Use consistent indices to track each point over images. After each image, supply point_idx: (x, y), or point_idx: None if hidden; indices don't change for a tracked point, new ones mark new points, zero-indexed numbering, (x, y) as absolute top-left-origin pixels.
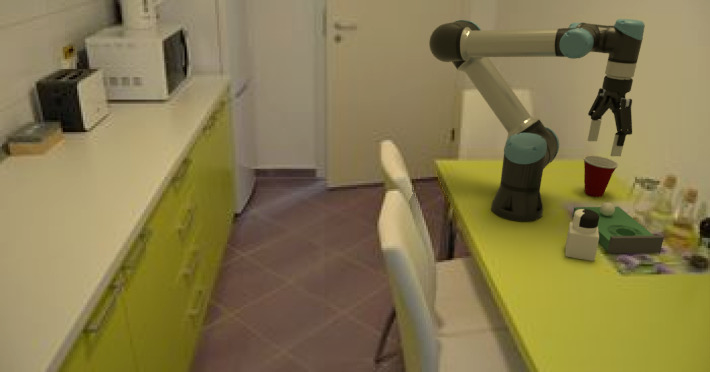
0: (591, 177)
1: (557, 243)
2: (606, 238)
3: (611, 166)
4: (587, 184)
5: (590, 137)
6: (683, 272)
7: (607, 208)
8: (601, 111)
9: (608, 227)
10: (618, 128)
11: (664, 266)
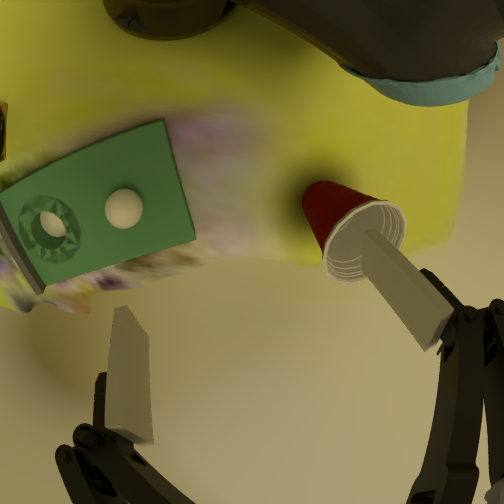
0: (328, 203)
1: (11, 86)
2: (6, 189)
3: (359, 264)
4: (326, 189)
5: (375, 249)
6: (6, 290)
7: (105, 209)
8: (445, 414)
9: (56, 198)
10: (107, 468)
11: (7, 270)
